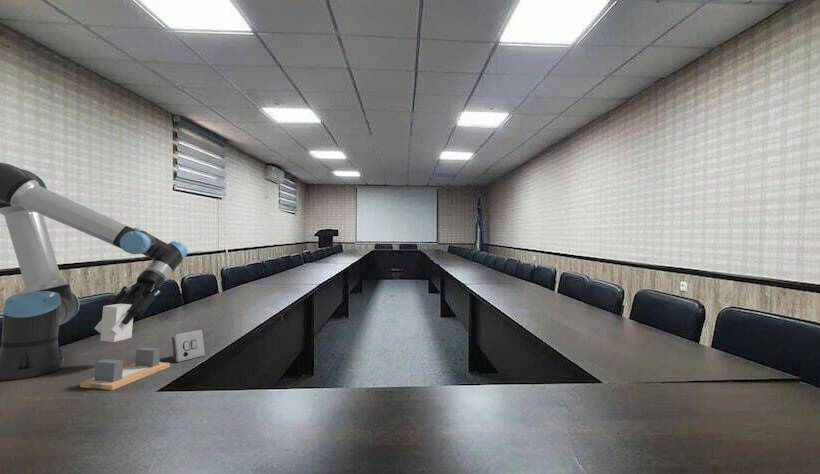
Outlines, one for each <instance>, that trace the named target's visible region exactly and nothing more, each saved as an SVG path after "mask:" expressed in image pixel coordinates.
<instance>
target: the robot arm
mask: <svg viewBox="0 0 820 474" xmlns="http://www.w3.org/2000/svg"><path fill="white" fill-rule="evenodd" d="M47 187H48V186H47V184H46V183H45V181H44V179H42V178H41V177H40V176H38V175H37V174H35V173H33V172H32V171H29V170H27V169H24V168H20V167H17V166H15V165H13V164H10V163H5V162H0V214H1V215H2V216H4V219H5V223H6V226H7V229H8V233H9V237H10V239H11V243H12V247H13V249H14V253H15V256H16V260H17V264H18V266H19V270H20V273H21V276H22V281H23V282H24V288H23V289H22V291H20V293H17V294H13V295H11V296H9V297H8V298H6V299H5V301H4V306H3V308H2V328H1V329H2V330H1V343H0V344H1V345H0V381H10V380H20V379H28V378H34V377H37V376H42V375H46V374H50V373H53V372H56V371H59V370H61V369H62V368H64V365H65V357H64V356H63V351H62V350H61V347H60V345H59V341H58V340H59V328H60V326H62V325H64V324H67V323H68V322H69V321H71V320H72V319H73V318H74V317H75V316H76V315H77V314H78V312H79V310H80V304H81V302H80V299H79V298H78V296H77V295H76V294H75V293H74V292H72V289H71V286H70V282H68V281H66V280H64V279H63V278H62V276H61V273H60V270H59V266H58V262H57V259H56V255H55V251H54V248H53V246H52V245H53V244H52V240H51V238H50V234H49V232H48V231H49V230H48V228H47V224H46V221H45V220H46V219H45V218H44V217H46V218H48V219H50V220H53V221H56V222H58V223H61V224H63V225H65V226H68V227H70V228H71V229H75V230H77V231H79V232H82V233H84V234H86V235H89V236H91V237H93V238H96V239H98V240H101V241H103V242H105V243H107V244H110V245H112V246H114V247H116V248H119V249H122V251H124V252H125V253H127V254H131V255H143V256H145V257H147V258H149V259H151V260H152V261H151V263H149V264H148V266H147V267H146V268H145V269H144V271H142V272H141V273H140V274H139V275H138V276H137V278H136V282H135V283H134V284H133V285H132V286H130V287H127V286H125V285H124V286H123V287H122V288H121V290H120V291H119V292H118V293H117V295H116V296H115V297H114V298H112V300H111V301H110V302H108V304H107V305H114V304H132V306H131V308H130V309H129V310H127V312H128V313H127V312H125V313H124V314H123V315H122V316H121V317H120V319H119V320H118V321H117V322H116V323H115V324H114V325H113V327H112V328H111V329H110V330H111V331H112V332H113V333H114V334H118V333H119V332H120V331H121V330H122V328H123V327H124V326H125V325H126V324H128V323H129V322H130V320H131V319H132V318H133V319H134V317H137V316H139V317H141V316H142V315H143V314H144V313H145V312H146V311H147V309H148V308H149V307H150V306H151V305H152V303H153V302H154V301H155V300H156V298H157V297H159V296H160V295H161V294H162V293H161V291H160V290H159V289H160V288H161V287H162V286H163V284H164V283H165V281H167V279H169V276H171V274H172V273H173V272H174V271H175V270H176V268H178V266H180V264H181V263H182V262H183V261H184V259H185V258H186V256H187V255H188V251H189V250H188V248H187V247H186V245H184V244H183V243H181V242H177V241H170V242H169V243H167V242H165V241H163V240H161V239H159V238H157V237H156V236H155V235H153V234H150V233H148V232H147V231H146V230H143V229H141V228H140V227H134V228H133V227H131V226H128V225H126V224H124V223H123V222H120V221H117V220H116V219H113V218H112V217H109V216H107V215H105V214H102V213H100V212H98V211H96V210H94V209H91V208H89V207H86V206H84V205H83V204H80V203H78V202H76V201H74V200H71V199H69V198H67V197H65V196H63V195H62V194H58V193H57V192H56V193H55V191H54V192H53V191H51V190H49V189H48V188H47ZM131 302H132V303H131ZM101 327H102V318H101V319H100V320H99V322H98V323H97V324H96V326H95V327H94V328H93V329H94V330H95V331H97V332H98V333H99V334H101Z"/></svg>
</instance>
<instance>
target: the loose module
mask: <svg viewBox="0 0 820 474" xmlns="http://www.w3.org/2000/svg"><path fill="white" fill-rule="evenodd" d="M132 304H133V303H129V304H114V305H108V304H107V305H103V306H102V307H103V308H102V316H101V319H102V327H101V333H100V337H99V338H100V339H99V341H100V342H109V343H115V342H119V341H124V340H127V339H131V338H132V337H133V335H132V334H133V327H134V325H133V322H134V317H133V318H132V319H131V320H130V322H129V323H128V324H126V325H125V326H124V327H123V328H122V330H121V331H120V332H119V333H118V334H114V333H113V332H112V331H111V330H110V329H111V328H112V327H113V325H114V324H115V323H116V322H117V321H118V320H119V319H120V317H121V316H122V315H123V314H124V313H125V312H127V310H129V309H130V308H131V306H132ZM127 313H128V312H127Z"/></svg>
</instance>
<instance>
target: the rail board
mask: <svg viewBox="0 0 820 474" xmlns="http://www.w3.org/2000/svg"><path fill="white" fill-rule="evenodd" d="M160 355H161V347H160V348H159V347H140V348H137V349H136V351H135V363H132V364H131V365H127V366H124V360H119V359H110V358H107V359H106V358H104V359H100V360H98V361H95V363H94V364H95V367H94V377H92V378H90V379H87V380H84V381H82V382H80V383H79V384H80V385H79V387H80V388H87V389H88V388H89V389H98V390H110V391H113V390H115V389H118V388H120V387H123V386H126V385H128V384H131V383H134V382H135V381H138V380H141V379H143V378H146V377H147V376H150V375H153V374H155V373H158V372H160V371H163V370H165V369H168V368H170V367H171V363H170V362H162V361H160V357H161V356H160ZM123 366H124V367H123Z"/></svg>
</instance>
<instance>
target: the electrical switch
mask: <svg viewBox="0 0 820 474" xmlns="http://www.w3.org/2000/svg"><path fill="white" fill-rule="evenodd" d="M171 343H172V352H173V353H172V354H173V360H174V361H176V362H177V363H181V362H184V361H188V360H192V359H196V358H200V357H204V356H205V354H206V353H205V352H206V351H205V343H204V335H203V330H202V329H198V330H197V329H196V330H193V331H187V332H181V333H176V334H174V335H173V337H172V338H171Z"/></svg>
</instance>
